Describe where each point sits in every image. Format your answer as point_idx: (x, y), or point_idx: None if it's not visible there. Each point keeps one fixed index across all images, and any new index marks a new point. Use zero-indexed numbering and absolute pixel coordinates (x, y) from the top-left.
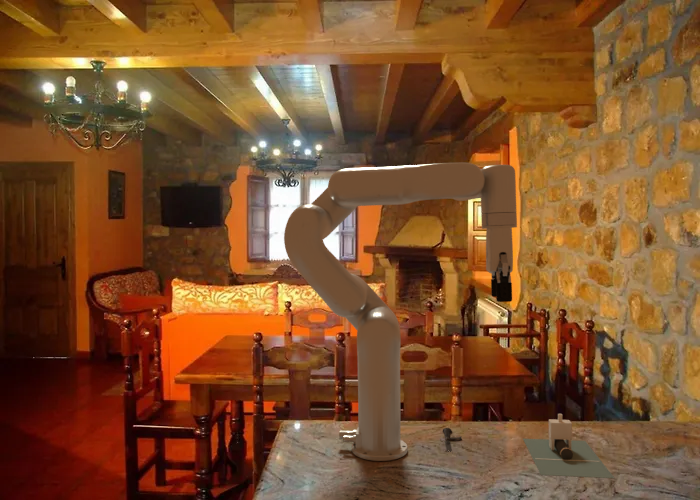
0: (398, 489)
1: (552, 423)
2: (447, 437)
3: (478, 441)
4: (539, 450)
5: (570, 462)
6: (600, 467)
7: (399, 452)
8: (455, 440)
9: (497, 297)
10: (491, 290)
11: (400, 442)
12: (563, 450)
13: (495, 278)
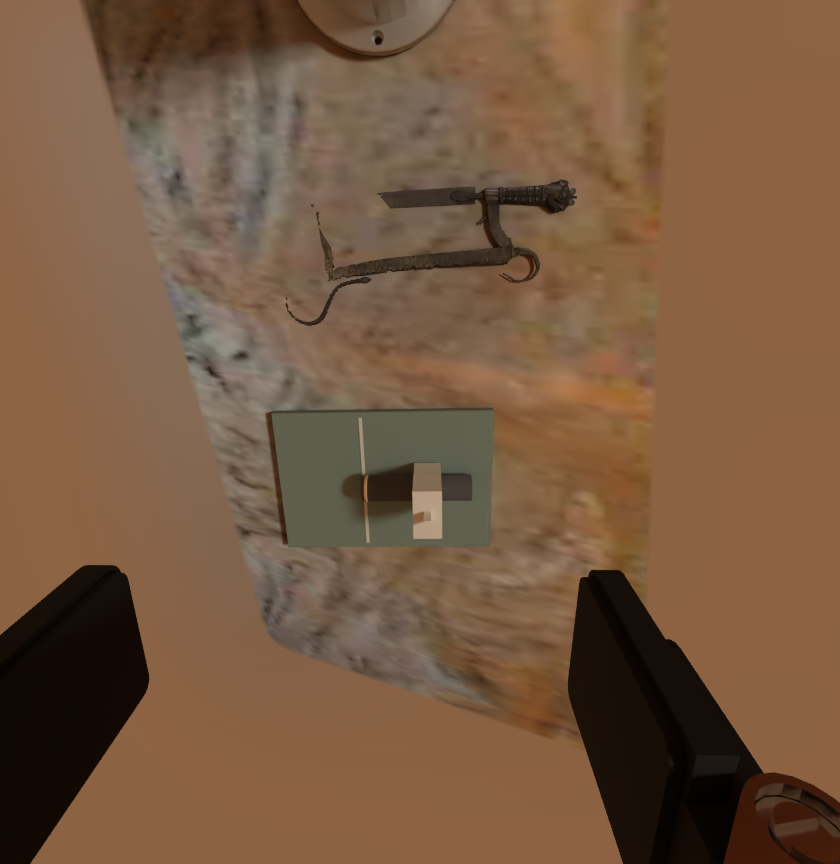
0: (122, 45)
1: (412, 494)
2: (493, 194)
3: (488, 290)
4: (415, 436)
5: (352, 486)
6: (336, 536)
7: (325, 24)
8: (482, 220)
9: (61, 594)
10: (635, 609)
11: (375, 18)
12: (361, 485)
13: (692, 829)
